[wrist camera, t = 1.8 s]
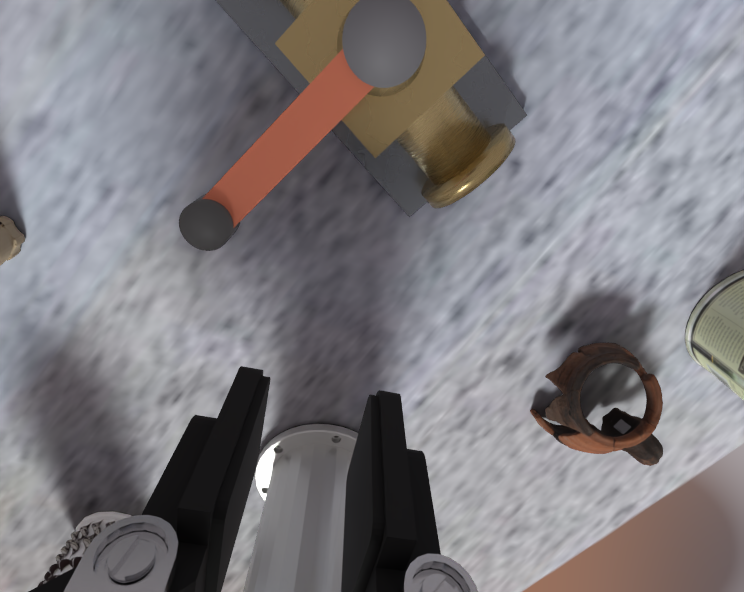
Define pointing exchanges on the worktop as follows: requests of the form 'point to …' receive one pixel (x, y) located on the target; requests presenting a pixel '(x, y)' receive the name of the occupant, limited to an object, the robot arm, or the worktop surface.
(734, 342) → the coffee can
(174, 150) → the worktop surface
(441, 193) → the valve
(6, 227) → the handle
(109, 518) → the white patterned cylinder
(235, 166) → the lever
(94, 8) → the worktop surface
